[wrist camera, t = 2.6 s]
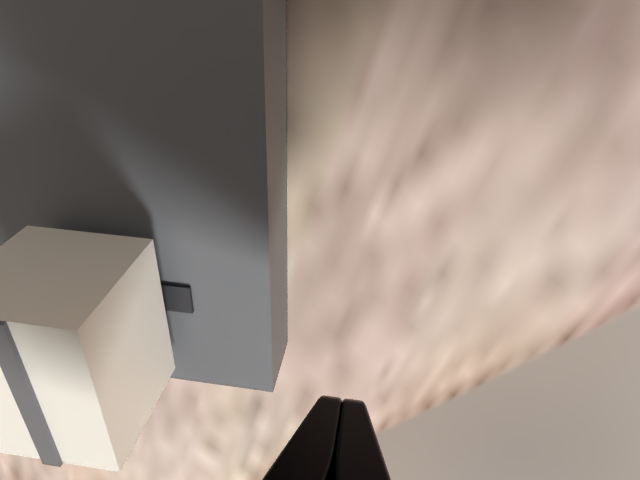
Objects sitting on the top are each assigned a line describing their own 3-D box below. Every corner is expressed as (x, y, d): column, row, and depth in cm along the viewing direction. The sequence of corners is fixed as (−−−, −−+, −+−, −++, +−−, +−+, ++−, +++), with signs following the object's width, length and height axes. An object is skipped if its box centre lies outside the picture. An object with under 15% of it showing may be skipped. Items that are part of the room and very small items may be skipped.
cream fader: (152, 239, 11) (74, 334, 8) (175, 368, 13) (118, 475, 10) (27, 225, 11) (-88, 313, 9) (69, 353, 13) (-13, 454, 11)
